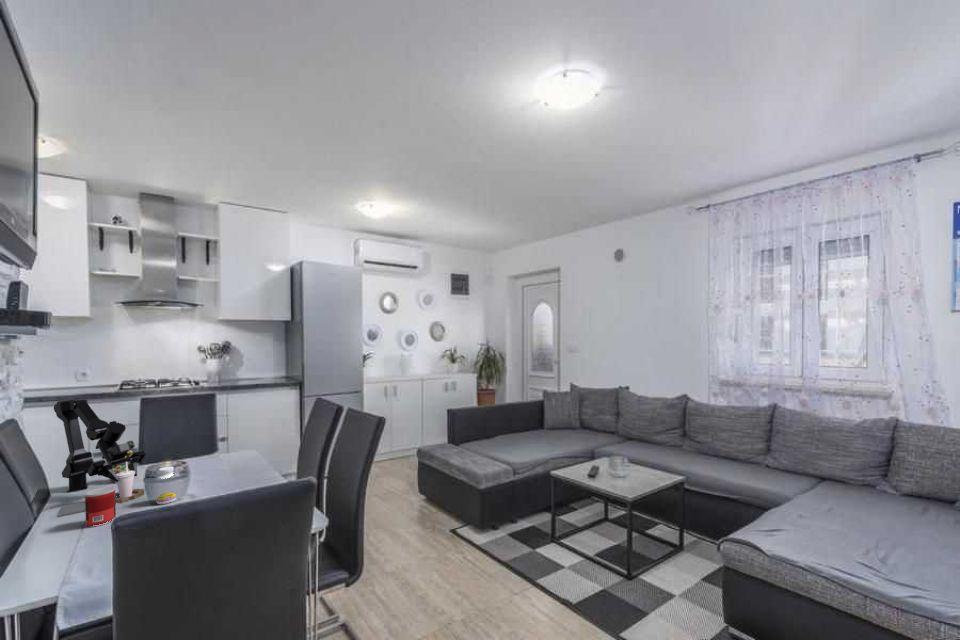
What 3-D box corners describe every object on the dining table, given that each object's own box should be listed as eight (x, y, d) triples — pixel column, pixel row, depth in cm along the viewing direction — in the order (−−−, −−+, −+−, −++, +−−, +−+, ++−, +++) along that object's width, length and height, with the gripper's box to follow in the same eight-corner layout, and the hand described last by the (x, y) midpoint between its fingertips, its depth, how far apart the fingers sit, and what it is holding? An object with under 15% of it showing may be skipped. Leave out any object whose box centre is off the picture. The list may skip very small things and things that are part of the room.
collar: (107, 495, 179) (107, 493, 179) (144, 488, 187) (144, 485, 187) (105, 506, 168) (105, 503, 168) (144, 498, 175) (144, 495, 175)
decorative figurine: (106, 485, 193) (105, 451, 193) (110, 480, 200) (109, 447, 200) (134, 480, 198) (133, 447, 198) (137, 475, 205) (136, 443, 205)
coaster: (63, 507, 169) (63, 505, 169) (103, 498, 176) (103, 497, 176) (58, 517, 159) (58, 515, 159) (101, 507, 167) (101, 506, 167)
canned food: (121, 518, 155) (120, 487, 156) (95, 528, 148) (94, 495, 148) (106, 516, 158) (106, 485, 158) (80, 526, 150) (79, 494, 151)
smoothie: (139, 495, 179) (138, 460, 179) (121, 500, 173) (120, 465, 173) (130, 493, 181) (129, 459, 182) (112, 498, 176) (111, 464, 176)
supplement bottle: (166, 505, 166) (165, 471, 166) (151, 504, 167) (150, 470, 168) (181, 498, 173) (180, 465, 173) (167, 497, 174) (166, 465, 174)
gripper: (90, 442, 171) (108, 472, 166) (143, 431, 188) (160, 458, 183) (79, 460, 173) (96, 491, 169) (132, 448, 191) (149, 475, 186)
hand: (127, 478), depth 177 cm, fingers closed on smoothie, 6 cm apart
